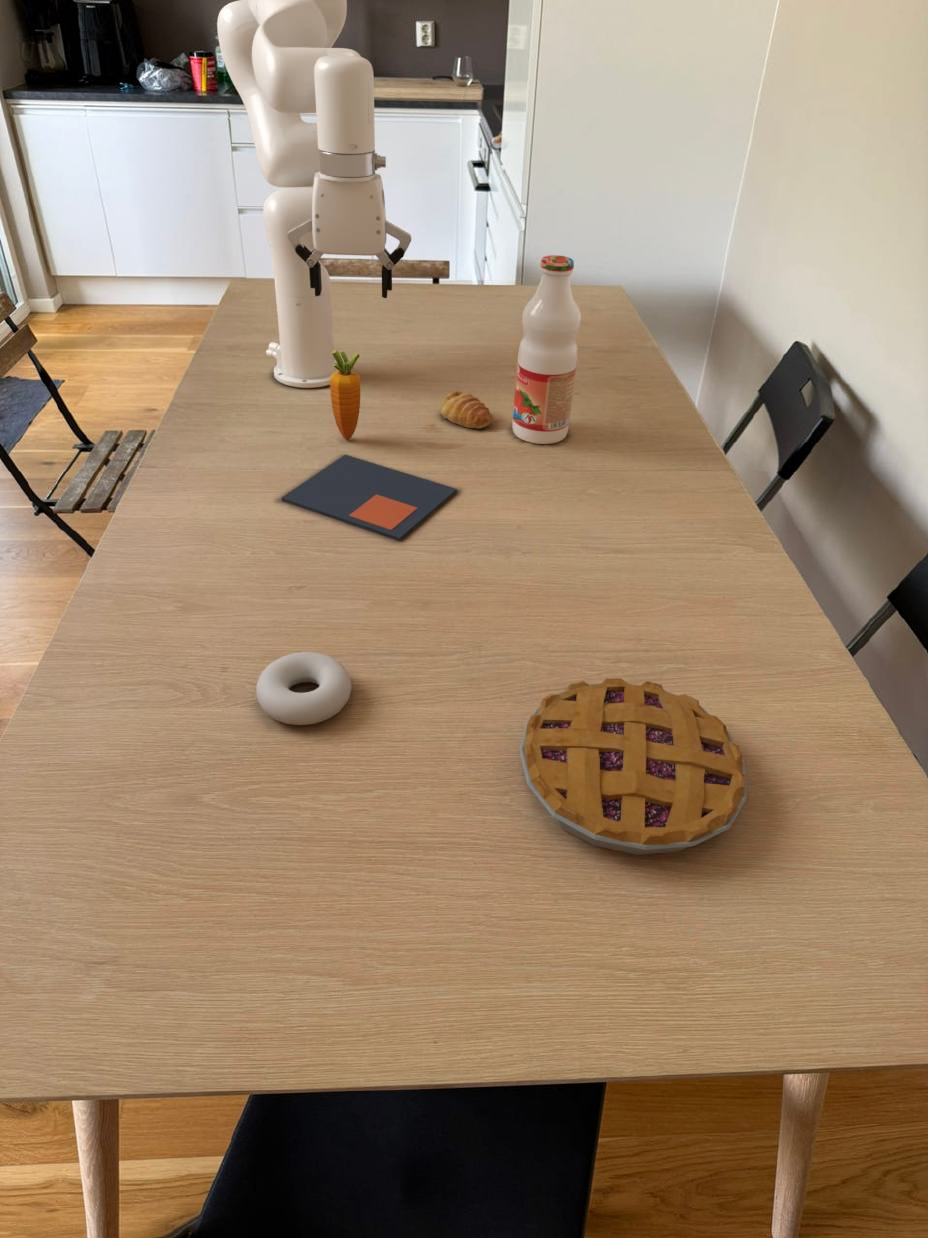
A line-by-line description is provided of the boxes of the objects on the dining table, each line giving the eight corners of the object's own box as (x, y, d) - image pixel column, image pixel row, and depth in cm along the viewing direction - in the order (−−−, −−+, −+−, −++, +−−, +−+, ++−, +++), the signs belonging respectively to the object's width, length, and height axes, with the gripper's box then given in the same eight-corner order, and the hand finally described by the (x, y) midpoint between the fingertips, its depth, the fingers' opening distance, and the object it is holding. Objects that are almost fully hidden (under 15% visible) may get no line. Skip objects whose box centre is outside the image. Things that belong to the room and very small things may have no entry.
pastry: (501, 423, 151) (502, 402, 149) (473, 435, 147) (474, 413, 145) (462, 405, 156) (463, 385, 154) (434, 416, 152) (434, 395, 150)
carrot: (368, 436, 145) (365, 346, 136) (355, 449, 141) (352, 358, 132) (340, 431, 146) (336, 341, 137) (326, 443, 142) (321, 352, 133)
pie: (516, 863, 79) (521, 826, 76) (517, 697, 97) (520, 662, 94) (762, 879, 79) (776, 843, 76) (718, 710, 96) (728, 675, 93)
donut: (237, 708, 94) (311, 745, 90) (233, 683, 92) (308, 720, 88) (300, 658, 101) (371, 690, 97) (297, 634, 99) (369, 666, 94)
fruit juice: (569, 446, 145) (592, 270, 128) (512, 444, 145) (527, 267, 128) (565, 421, 153) (586, 251, 136) (510, 419, 153) (524, 248, 136)
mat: (281, 500, 128) (281, 496, 127) (345, 457, 139) (345, 453, 139) (399, 540, 121) (399, 537, 120) (456, 491, 132) (457, 488, 132)
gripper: (412, 161, 123) (411, 287, 133) (285, 156, 122) (294, 284, 132) (411, 172, 117) (410, 304, 127) (278, 167, 116) (288, 300, 126)
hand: (351, 294), depth 130 cm, fingers open, 9 cm apart
